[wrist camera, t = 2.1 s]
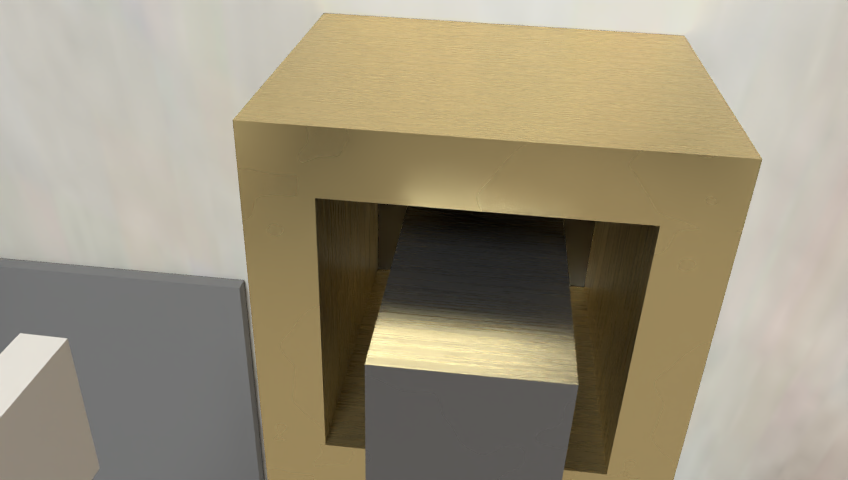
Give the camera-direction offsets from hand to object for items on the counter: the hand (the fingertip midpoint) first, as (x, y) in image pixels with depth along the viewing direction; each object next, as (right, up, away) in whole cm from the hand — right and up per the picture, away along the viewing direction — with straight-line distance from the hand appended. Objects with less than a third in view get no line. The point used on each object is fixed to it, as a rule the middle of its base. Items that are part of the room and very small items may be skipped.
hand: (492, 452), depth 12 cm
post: (+1, +5, +8) cm, 9 cm away
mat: (-11, -1, +13) cm, 17 cm away
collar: (+1, +5, +8) cm, 9 cm away
